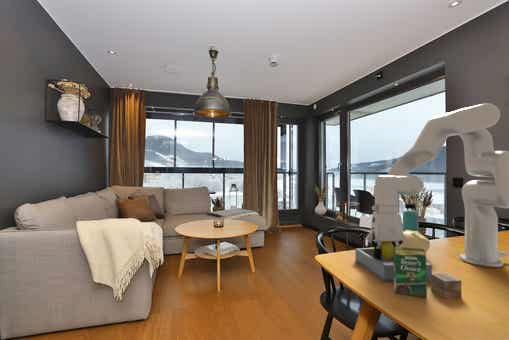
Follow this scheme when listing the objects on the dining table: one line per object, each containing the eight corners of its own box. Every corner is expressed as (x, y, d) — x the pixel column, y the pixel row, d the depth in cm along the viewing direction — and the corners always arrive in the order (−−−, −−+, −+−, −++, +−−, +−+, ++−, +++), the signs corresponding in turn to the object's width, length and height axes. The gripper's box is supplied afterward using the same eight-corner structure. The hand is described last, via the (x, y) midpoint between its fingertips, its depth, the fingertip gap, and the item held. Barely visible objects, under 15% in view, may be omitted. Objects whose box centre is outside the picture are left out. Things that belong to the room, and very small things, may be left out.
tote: (394, 259, 101) (395, 247, 101) (431, 280, 83) (431, 264, 83) (355, 261, 99) (355, 248, 99) (384, 282, 81) (384, 266, 81)
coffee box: (394, 293, 74) (394, 248, 74) (392, 289, 77) (393, 245, 76) (427, 298, 71) (427, 251, 71) (424, 294, 74) (424, 248, 74)
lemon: (379, 263, 91) (380, 240, 91) (375, 257, 97) (375, 236, 97) (396, 264, 90) (396, 241, 90) (391, 258, 96) (391, 237, 96)
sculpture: (434, 262, 99) (435, 234, 99) (403, 261, 99) (403, 233, 99) (417, 252, 110) (417, 227, 110) (388, 251, 111) (388, 227, 111)
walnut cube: (446, 289, 76) (446, 273, 76) (461, 298, 71) (461, 280, 71) (430, 290, 76) (430, 273, 76) (444, 299, 71) (445, 281, 71)
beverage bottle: (413, 250, 113) (413, 204, 113) (398, 245, 119) (399, 203, 119) (422, 247, 116) (422, 204, 116) (407, 244, 122) (407, 202, 122)
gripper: (369, 211, 89) (369, 263, 89) (415, 210, 91) (415, 261, 91) (358, 207, 96) (358, 255, 96) (401, 207, 98) (401, 254, 98)
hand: (385, 257), depth 94 cm, fingers closed on lemon, 5 cm apart
